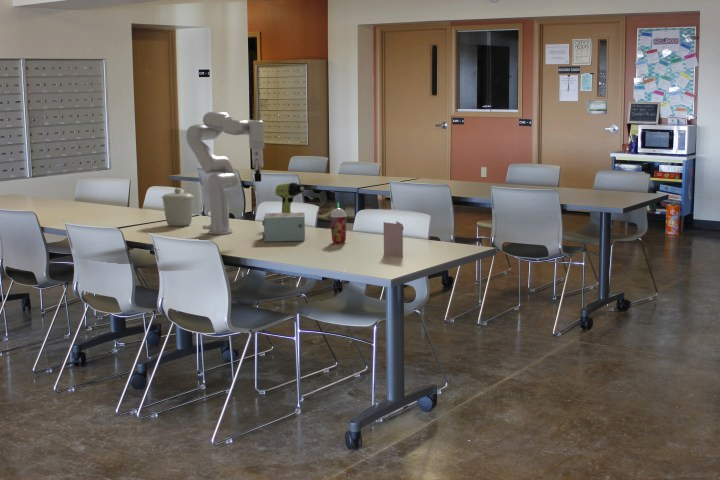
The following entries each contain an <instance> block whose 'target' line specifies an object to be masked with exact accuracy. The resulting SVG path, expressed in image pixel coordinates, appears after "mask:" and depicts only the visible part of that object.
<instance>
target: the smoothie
mask: <svg viewBox="0 0 720 480" xmlns="http://www.w3.org/2000/svg"><path fill="white" fill-rule="evenodd" d="M329 217H330V219H329V220H330V228H331V229H330V231H331V232H330V233H331V241H332V243H333V244H335V245H336V244H337V245H341V244H345V243H346V239H347V224H348V223H347V222H348V221H347V218H348V214H347V213H346V211H345V210H344V209H343V208H340V202H337V207H336V208H335V209H333V210H332V211H331V213H330V214H329Z"/></svg>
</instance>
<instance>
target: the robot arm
mask: <svg viewBox="0 0 720 480" xmlns="http://www.w3.org/2000/svg"><path fill="white" fill-rule="evenodd" d="M202 122H203V123H200V124H193V125H190V126H189V127H188V128H187V130H186V133H185V134H186V135H185V137H186V142H187V145H188V147H189V148H190V150H191V151H192V153H193V154H194V156H195V157H196V161H197V162H198V164H199V166H200V167H201V169H202V171H203V172H204V174H206V175H210V176H208V178H207V182H206V183H207V184H206V185H207V188H208V193H209V205H210V206H209V207H210V224H209V225H202V229H203V230H208V231H207V233H208V234H210V235H228V234H232V233H233V230H232V229H230V218H229V217H230V214H229V213H230V212H229V211H230V210H229V197H228V195H227V193H226V191H231V190H236V189H237V188H238V187H239V183H240V182H239V181H240V180H239V176H238V174H237V173H236V171H235V168H234V167H233V166H232V162H231V160H230V159H229V158H228V157H227V156H225V155H222V154H220V155H215V154H214V153H213V152H212V150H211V147H210V146H208V145H207V144H206V143H205V142H204V141H210V140H215V139H216V138H218V137H219V136H220V135H221V134H222V133H224V134H228V135H232V136H244V135H245V136H247V135H248V145H249V147H248V149H251V157H252V158H251V160H252V168H254V182H255V183H257V182H262V173H261V172H262V171H261V169H262V168H264V150H263V149H265V124H264V123H265V122H264V121H263V120H257V119H256V120H254V119H233V118H232V116H230V115H229V114H228V112H225V111H222V110H221V111H209V112H206V113H204V115H203V117H202Z"/></svg>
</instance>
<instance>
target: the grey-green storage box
mask: <svg viewBox="0 0 720 480" xmlns="http://www.w3.org/2000/svg"><path fill="white" fill-rule="evenodd" d="M262 226H263V233H262V239H263V241H264V242H265V241H268V242H305V240H306V235H305V236H304V216H301V217H263V220H262Z"/></svg>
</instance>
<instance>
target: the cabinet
mask: <svg viewBox="0 0 720 480" xmlns="http://www.w3.org/2000/svg"><path fill="white" fill-rule="evenodd" d="M301 216H304V236H305V237H306V229H305V228H306V227H305V226H306V223H305V222H306V221H305V220H306V219H305V212H291V213H281V212H273V213H271V212H269V213H268V212H267V213H264V217H301ZM264 217H263V218H264ZM264 242H269V241H264Z"/></svg>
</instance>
